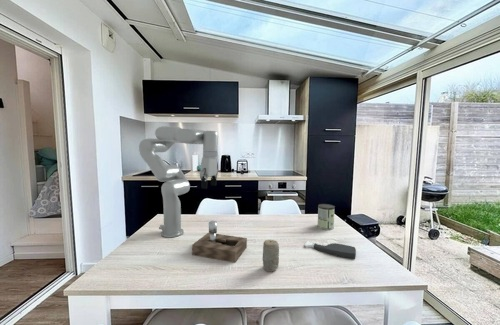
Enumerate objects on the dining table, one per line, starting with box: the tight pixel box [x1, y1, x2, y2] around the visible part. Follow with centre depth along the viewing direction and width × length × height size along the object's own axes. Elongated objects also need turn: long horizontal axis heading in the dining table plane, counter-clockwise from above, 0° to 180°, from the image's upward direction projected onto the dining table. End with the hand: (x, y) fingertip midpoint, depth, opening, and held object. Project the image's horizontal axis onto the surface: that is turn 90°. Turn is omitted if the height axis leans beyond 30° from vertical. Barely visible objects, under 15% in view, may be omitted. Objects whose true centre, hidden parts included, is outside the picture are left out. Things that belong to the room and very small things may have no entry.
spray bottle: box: [303, 240, 357, 260], centre depth 116 cm, size 3×11×24 cm
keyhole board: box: [191, 232, 248, 263], centre depth 113 cm, size 22×16×5 cm
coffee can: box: [317, 203, 336, 231], centre depth 149 cm, size 10×10×14 cm
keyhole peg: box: [208, 220, 218, 242], centre depth 114 cm, size 6×6×14 cm
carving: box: [262, 239, 280, 272], centre depth 97 cm, size 6×8×12 cm
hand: (208, 186), depth 121 cm, fingers open, 9 cm apart
